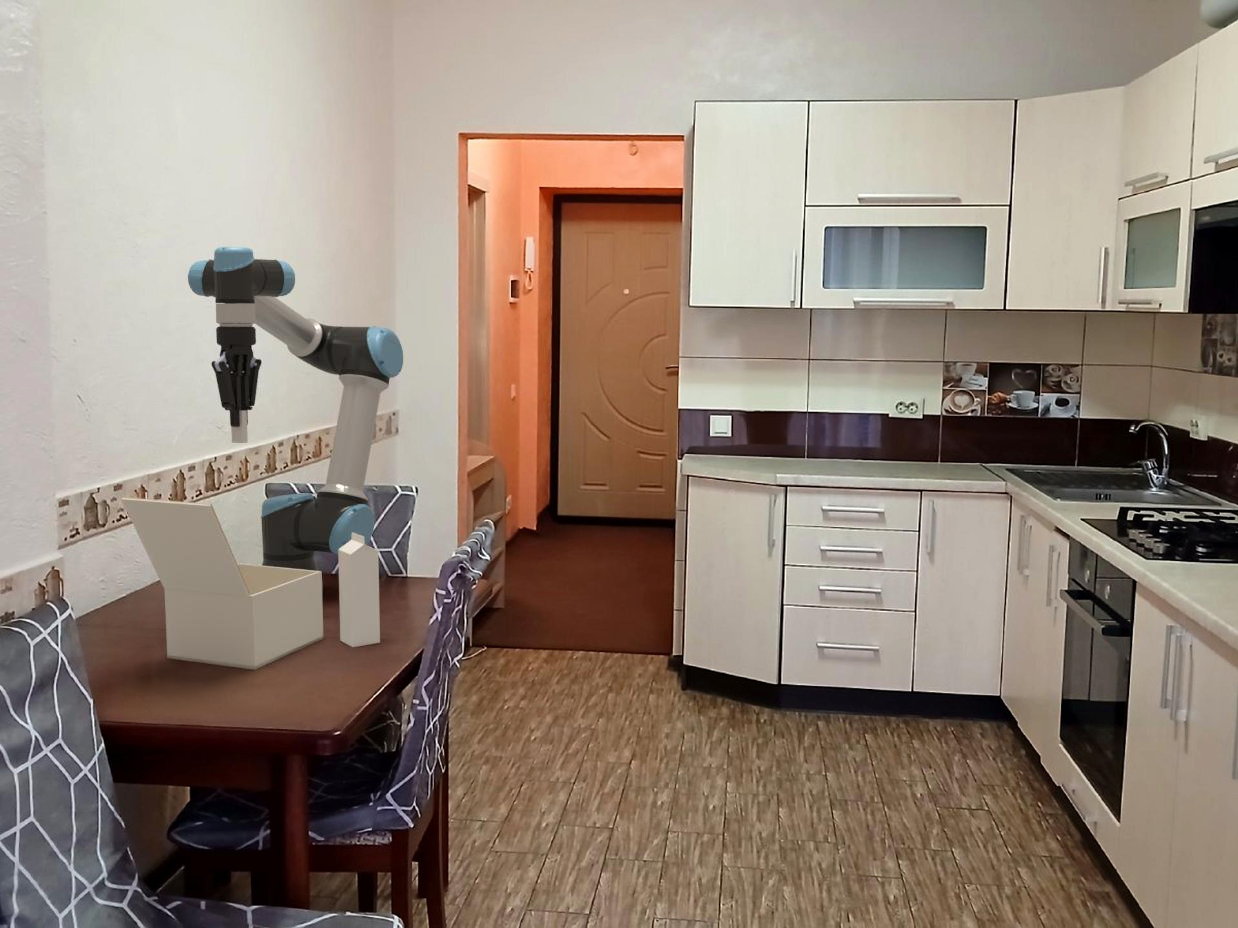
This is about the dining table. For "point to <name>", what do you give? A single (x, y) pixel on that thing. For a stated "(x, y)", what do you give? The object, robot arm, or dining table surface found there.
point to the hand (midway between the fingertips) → (239, 442)
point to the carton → (246, 619)
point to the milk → (359, 593)
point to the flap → (186, 545)
